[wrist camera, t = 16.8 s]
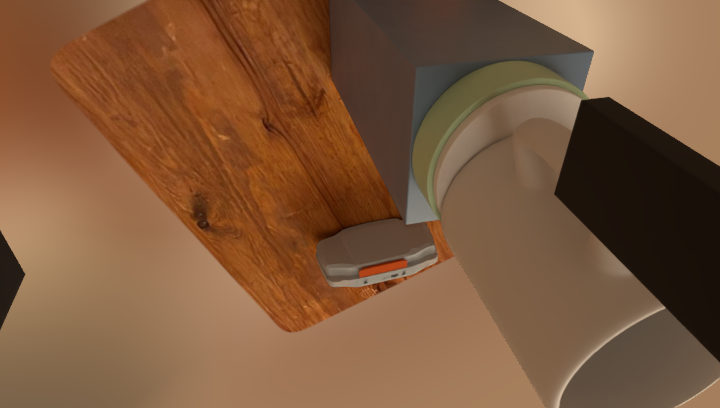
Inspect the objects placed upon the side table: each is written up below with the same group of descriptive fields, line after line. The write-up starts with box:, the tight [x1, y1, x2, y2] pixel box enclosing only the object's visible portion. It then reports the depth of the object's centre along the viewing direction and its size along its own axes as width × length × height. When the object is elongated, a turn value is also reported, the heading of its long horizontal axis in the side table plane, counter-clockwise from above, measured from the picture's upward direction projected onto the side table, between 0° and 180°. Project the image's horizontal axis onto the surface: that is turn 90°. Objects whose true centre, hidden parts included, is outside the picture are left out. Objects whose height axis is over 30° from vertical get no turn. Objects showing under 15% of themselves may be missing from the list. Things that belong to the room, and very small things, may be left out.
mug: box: [441, 118, 720, 408], centre depth 21 cm, size 12×8×11 cm
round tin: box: [412, 61, 589, 221], centre depth 26 cm, size 10×10×3 cm
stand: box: [329, 0, 594, 225], centre depth 37 cm, size 10×10×24 cm
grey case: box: [316, 218, 438, 287], centre depth 58 cm, size 14×3×8 cm, turn 94°
